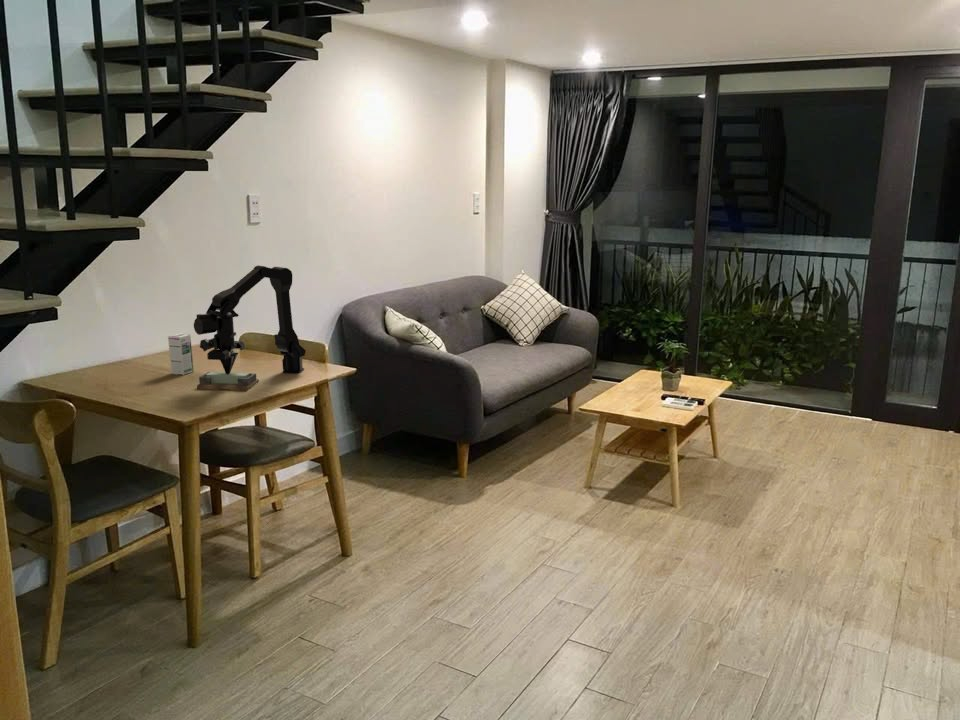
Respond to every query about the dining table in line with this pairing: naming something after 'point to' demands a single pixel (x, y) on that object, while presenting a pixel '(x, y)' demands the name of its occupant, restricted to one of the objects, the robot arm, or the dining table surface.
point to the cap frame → (242, 383)
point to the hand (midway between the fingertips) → (227, 374)
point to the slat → (226, 377)
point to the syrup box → (180, 353)
